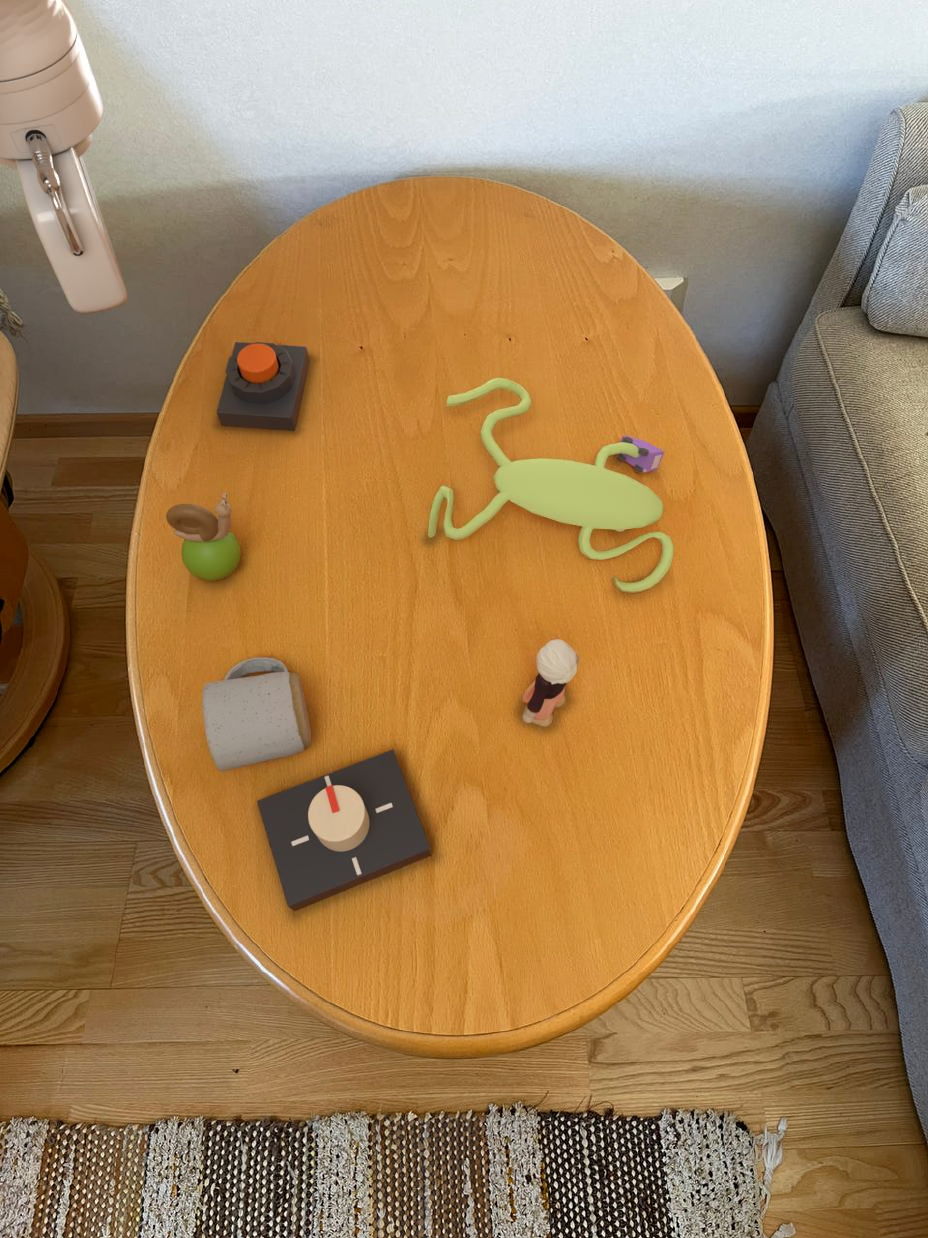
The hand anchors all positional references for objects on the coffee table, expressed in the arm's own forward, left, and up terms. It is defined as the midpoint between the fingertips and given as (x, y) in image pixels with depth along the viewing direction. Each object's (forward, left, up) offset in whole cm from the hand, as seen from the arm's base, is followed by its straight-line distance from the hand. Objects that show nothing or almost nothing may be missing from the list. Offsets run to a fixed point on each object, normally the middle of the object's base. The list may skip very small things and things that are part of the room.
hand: (98, 272), depth 63 cm
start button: (+10, +9, -23) cm, 27 cm away
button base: (+10, +9, -27) cm, 30 cm away
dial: (+3, -40, -24) cm, 47 cm away
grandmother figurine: (+23, -36, -27) cm, 51 cm away
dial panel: (+3, -40, -27) cm, 48 cm away
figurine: (+33, -15, -27) cm, 45 cm away
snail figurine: (0, -11, -27) cm, 29 cm away
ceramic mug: (-1, -28, -27) cm, 39 cm away
